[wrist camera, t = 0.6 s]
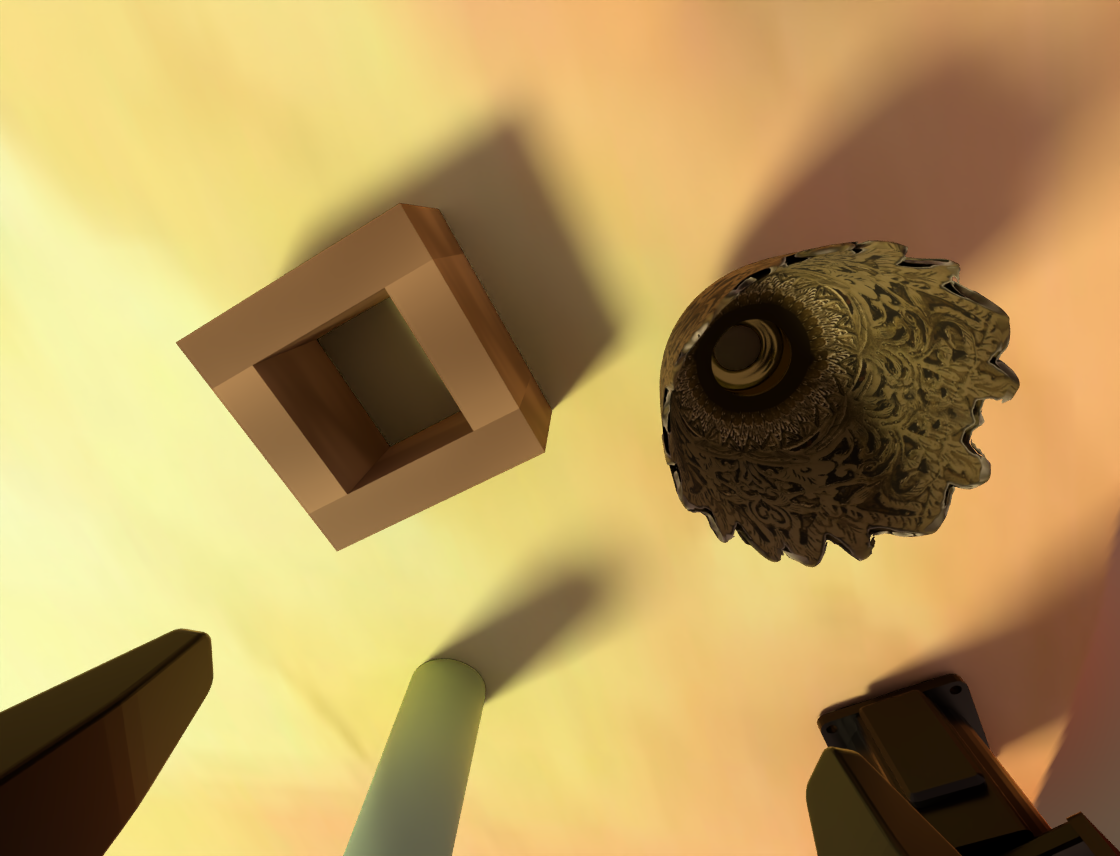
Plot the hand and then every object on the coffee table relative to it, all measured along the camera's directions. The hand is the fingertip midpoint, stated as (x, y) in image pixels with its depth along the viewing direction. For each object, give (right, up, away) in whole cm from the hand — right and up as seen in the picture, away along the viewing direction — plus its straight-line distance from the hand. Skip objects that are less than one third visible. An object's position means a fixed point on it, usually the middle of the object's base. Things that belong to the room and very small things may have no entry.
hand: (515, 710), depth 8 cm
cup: (+7, +7, +11) cm, 15 cm away
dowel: (-5, -8, +17) cm, 20 cm away
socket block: (-5, +6, +12) cm, 14 cm away
